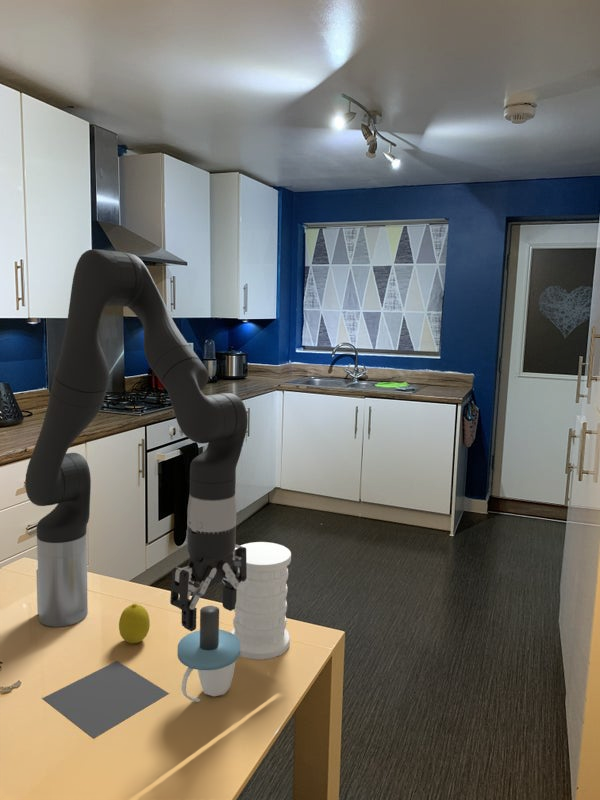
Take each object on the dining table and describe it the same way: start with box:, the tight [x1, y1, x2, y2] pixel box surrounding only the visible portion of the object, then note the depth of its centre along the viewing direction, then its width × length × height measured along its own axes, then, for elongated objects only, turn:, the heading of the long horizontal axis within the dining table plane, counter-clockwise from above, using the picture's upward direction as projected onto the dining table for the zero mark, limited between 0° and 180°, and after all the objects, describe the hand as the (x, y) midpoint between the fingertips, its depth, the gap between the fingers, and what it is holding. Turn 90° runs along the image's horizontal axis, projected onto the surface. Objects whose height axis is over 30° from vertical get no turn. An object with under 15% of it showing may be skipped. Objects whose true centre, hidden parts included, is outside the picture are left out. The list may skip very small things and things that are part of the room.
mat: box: [41, 660, 170, 739], centre depth 99 cm, size 14×14×1 cm
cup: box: [181, 660, 237, 703], centre depth 100 cm, size 7×10×8 cm
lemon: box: [118, 603, 151, 644], centre depth 115 cm, size 6×6×8 cm
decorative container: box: [230, 541, 292, 661], centre depth 116 cm, size 12×12×18 cm
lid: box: [177, 605, 240, 671], centre depth 99 cm, size 10×10×7 cm
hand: (209, 618), depth 98 cm, fingers open, 8 cm apart
